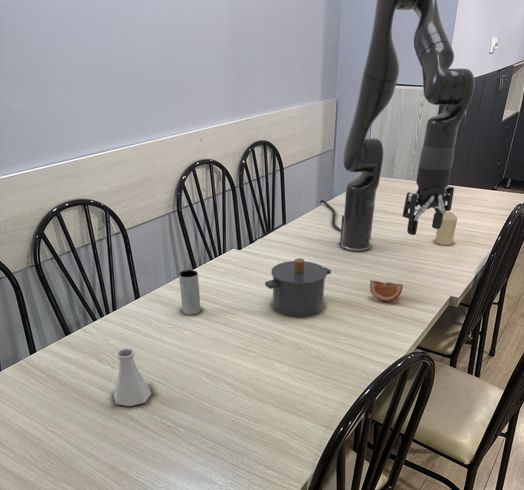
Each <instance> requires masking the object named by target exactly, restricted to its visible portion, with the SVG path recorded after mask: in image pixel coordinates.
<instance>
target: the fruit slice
mask: <svg viewBox="0 0 524 490" xmlns="http://www.w3.org/2000/svg"><path fill="white" fill-rule="evenodd" d="M403 287H404V286H403V284H401V283H394V282H388V281H387V282H383V281H379V280H373V279H370V282H369V291H370V292H371V294H372V295H373V296H374V297H375V298H376V299H377V300H380V301H382V302H392V301H395V300H397V298H399V297H400V295H401V294H402V292H403Z"/></svg>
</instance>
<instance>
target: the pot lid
mask: <svg viewBox="0 0 524 490" xmlns="http://www.w3.org/2000/svg"><path fill="white" fill-rule="evenodd" d="M270 271H271V273H270V274H271V276H272V278H273V277H274V278H275V279H276V280H278V281H280V282H283V283H287V284H294V285H307V284H314V283H317V282H320V281H322V280H323V279H325V280H326V277H327V276H328V275H327V271H326V269H325V268H324V266H322V265H320V264H318V263H317V262H316V263H315V262H311V261H305V259H304V258H301V257H300V258H299V257H298V258H294V260H290V261H284V262H280V263H278V264H276V265H275V266H273V267H272V269H271V270H270Z"/></svg>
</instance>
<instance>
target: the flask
mask: <svg viewBox="0 0 524 490" xmlns="http://www.w3.org/2000/svg"><path fill="white" fill-rule="evenodd" d="M134 355H135V351H134V349H133V348H130V347H124V348H120V349H118V351H116V357H117V359H118V362H119V365H118V366H119V368H118V375H117V380H116V383H115V387H114V392H113V398H114V403H115V404H116V405H120V406H126V407H132V406H137V405H140V404H144V403H146V402H147V400H148V399H149V398H150V396H151V395H152V392H151V389H150V387H149V385H148V383H147V381H146V380H145V379H144V377H143V376H142V374H141V372H140V371H139V369H138V367H137V366H136V363H135V360H134Z"/></svg>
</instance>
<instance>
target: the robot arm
mask: <svg viewBox="0 0 524 490" xmlns="http://www.w3.org/2000/svg"><path fill="white" fill-rule="evenodd" d="M411 10H412V11H413V12H414V13H415V14H416V16H417V17H418V22H417V25H416V28H415V31H414V34H413V48H414V51H415V54H416V57H417V60H418V61H419V62H418V63H419V64H420V67H421V72H422V88H423V89H422V91H423V96H424V98H425V100H426V101H427V102H428V103H429V104H430V105H433V106H445V108H444V110H443V111H442V112H441V113H440V114H438V115H434V116H432V117H430V118H429V119H428V120H427V122H426V126H425V132H424V138H423V144H422V147H421V152H420V157H419V163H418V167H417V168H418V169H417V175H416V181H415V182H416V183H415V184H416V185H417V190H416V192H410V191H408V192H407V193H406V196H405V200H404V206H403V211H402V217H403V218H405V219H408V222H407V229H406V231H407V234H408V235H411V236H415V235H417V230H418V225H419V218H420V217H421V215H423V214H424V213H425V212H426V210H429V209H431V208H432V209H433V211H434V212H433V217H432V224H431V227H432V228H433V229H435V230H437V229H440V227H441V224H442V219H443V215H444V214H445V213H446V212H451V209H452V205H453V198H454V194H455V188H454V187H453V186H450V185H449V183H450V178H451V173H452V170H453V169H452V168H453V163H454V159H455V147H456V142H457V136H458V131H459V126H460V125H461V122H462V120H463V118H464V116H465V113H466V111H467V108H468V106H469V104H470V102H471V100H472V98H473V95H474V91H475V86H476V83H475V81H476V80H475V76H474V74H473V72H472V71H471V70H470V69H468V68H450V67H451V66H452V65H453V63H454V60H455V54H454V53H455V52H454V50H453V47H452V45H451V41H449V38H448V35H447V33H446V31H445V29H444V27H443V23H442V20H441V16H440V11H439V10H440V9H439V6H438V1H437V0H376V4H375V11H374V18H373V25H372V31H371V36H370V42H369V47H368V51H367V57H366V60H365V65H364V68H363V72H362V78H361V82H360V87H359V92H358V98H357V102H356V107H355V111H354V114H353V118H352V123H351V126H350V129H349V132H348V136H347V139H346V142H345V145H344V149H343V157H342V160H343V167H344V169H345V171H347V172H349V173H361V174H360V175H359V176H358V177H357V178H355V179H354V180H352V181H350V182H348V183H347V184H346V190H345V199H344V211H343V212H344V213H343V215H342V216H341V226H340V228H339V227H338V225H336V223H335V219H336V210H335V209H334V208H333V207H332V206H331V205H330V204H329V203H327V201H325V200H324V199H321V200H320V201H319V203H320V204H321V203H323V204H324V205H325V206H326V207H327V208H328V209H330V210H331V211H332V222H331V224H332V227H334V229H335V230H336V231H338V232H340V237H339V238H340V239H339V244H340V245H341V248H343V249H345V250H346V251H347V250H348V251H352V252H363V251H367V250H369V249H370V248H371V241H372V232H373V231H372V230H373V224H374V213H375V206H376V205H375V204H376V198H377V197H376V195H377V190H378V187H379V185H380V179H381V172H382V167H383V161H384V146H383V143H382V141H381V140H380V139H379V138H377V137H376V138H375V137H372V138H371V137H370V138H369V137H368V138H367V135H368V133H369V131H370V128H371V127H372V125H373V123H374V122H375V121H376V120H377V118H378V117H379V116H380V115H381V113H383V111H384V110H385V108H386V107H387V106H388V104H389V103H390V102H391V100H392V99H393V96H394V94H395V89H396V86H397V83H398V78H399V75H400V74H399V73H400V61H399V58H398V54H397V51H396V48H395V43H394V40H393V21H394V17H395V12H396V11H411Z"/></svg>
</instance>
